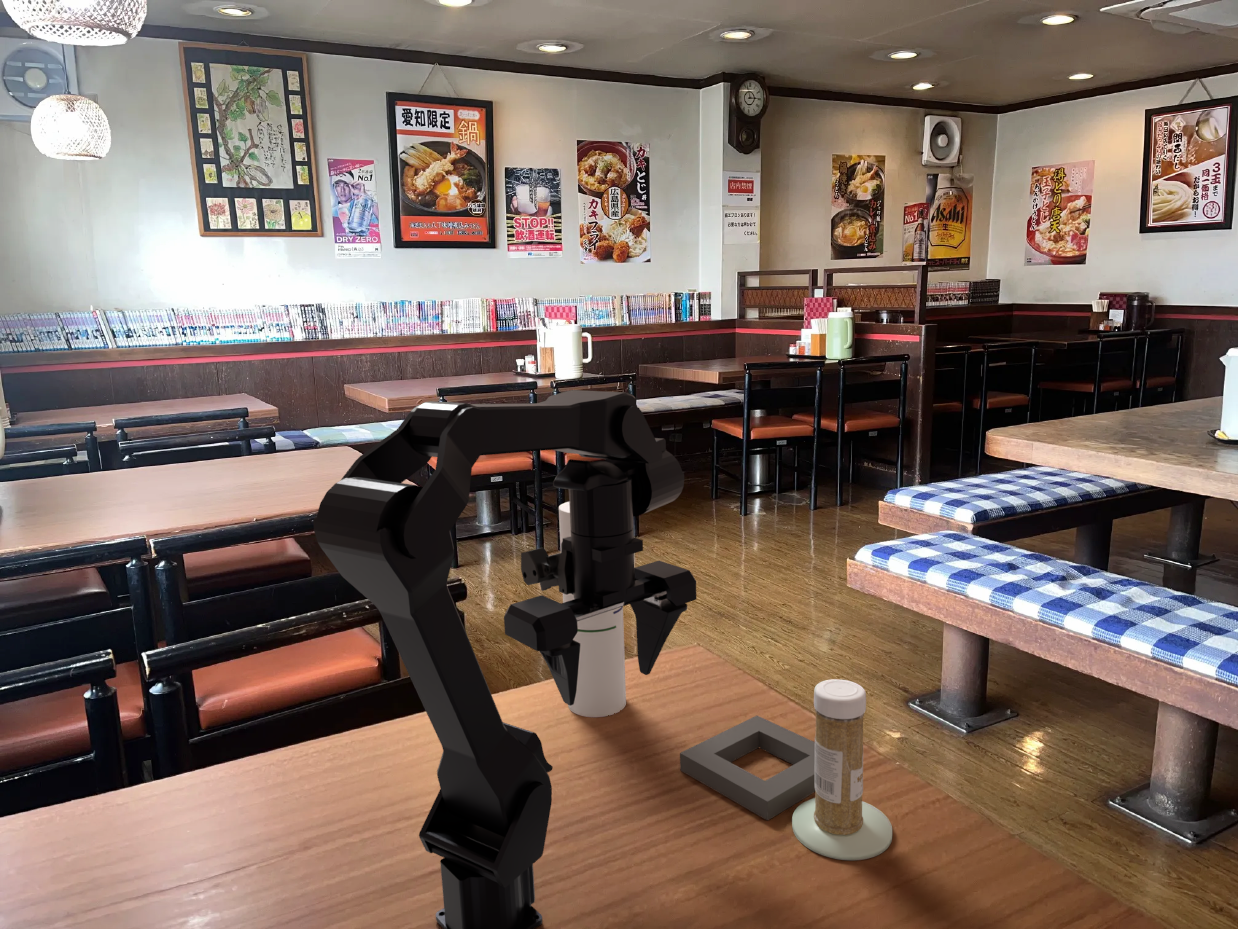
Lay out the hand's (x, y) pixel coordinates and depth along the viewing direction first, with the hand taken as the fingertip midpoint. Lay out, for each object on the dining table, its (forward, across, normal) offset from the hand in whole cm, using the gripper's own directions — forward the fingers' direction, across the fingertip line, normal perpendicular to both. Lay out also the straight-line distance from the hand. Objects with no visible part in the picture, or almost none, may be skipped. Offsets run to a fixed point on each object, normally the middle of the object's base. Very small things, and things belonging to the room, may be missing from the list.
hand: (608, 688), depth 83 cm
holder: (+13, -16, +5) cm, 21 cm away
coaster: (+13, -14, +16) cm, 25 cm away
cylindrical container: (+13, -13, -19) cm, 27 cm away
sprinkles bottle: (+13, -14, +16) cm, 25 cm away
